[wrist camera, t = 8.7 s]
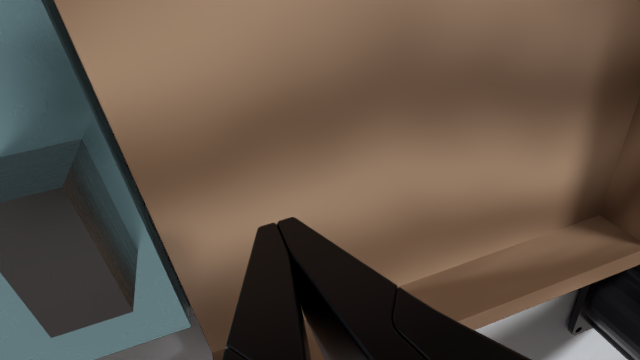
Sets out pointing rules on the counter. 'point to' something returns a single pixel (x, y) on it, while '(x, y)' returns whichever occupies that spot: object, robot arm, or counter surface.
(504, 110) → the walnut box
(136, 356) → the counter surface
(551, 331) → the counter surface
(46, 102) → the cover plate
